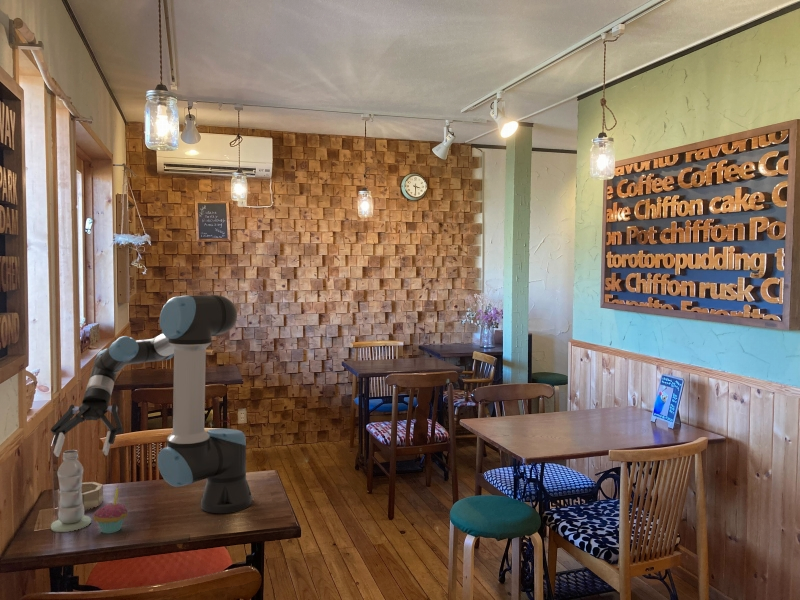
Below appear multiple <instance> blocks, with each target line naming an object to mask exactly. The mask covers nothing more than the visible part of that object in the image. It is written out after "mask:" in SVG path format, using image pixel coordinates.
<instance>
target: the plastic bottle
mask: <svg viewBox="0 0 800 600" xmlns="http://www.w3.org/2000/svg"><path fill="white" fill-rule="evenodd" d="M78 453H79V452H78V450H77V449H70V450H65V451H63V452H62V460H63V461H62V463H61V464H60V466H59V467H58V469H57V472H56V474H57V478H58V484H59V491H60V507H59V509H58V512H57V516H58V520H60V522H61V523H64V524H70V523H75V522H78V521H80V520H81V519H82V518H83V516H85V511H86V510H84V505H83V500H82V483H83V476H84V466H83V464H82V463H81V462H80V461H79V460H78V458H79V454H78Z"/></svg>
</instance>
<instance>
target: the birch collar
mask: <svg viewBox="0 0 800 600" xmlns="http://www.w3.org/2000/svg"><path fill="white" fill-rule="evenodd" d="M57 494H58V495H57V496H58V497H57V498H58V500H57V502H58V507H57V508H59V507H60V490H59V491H58V493H57ZM82 500H83V505H84V510H85V511H88V510H91V509H94V508H93V507H95V508H98V507H99V506H100V505H101V504H102V503H103V502H104V485H103V484H102V483H99V482H96V481H87V482H82ZM102 501H103V502H102ZM97 506H98V507H97ZM90 508H91V509H90ZM87 509H88V510H87Z"/></svg>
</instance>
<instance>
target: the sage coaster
mask: <svg viewBox="0 0 800 600" xmlns="http://www.w3.org/2000/svg"><path fill="white" fill-rule="evenodd" d="M90 523H91V524H92V517H90V516H88V515H84V516H83V518H82V519H81V520H80V521H78V522H75V523H70V524H64V523H61V522H60V520H59V519H57V520H56V519H55V520H54V521H53V522H52V523H51V524H50V529H51V531H53V532H54V533H70V532H69V531H71V532H75V531H74V530H76V531H79V530H82V529H84V527H85V528H87V527H88V526H90V525H91V524H90ZM89 524H90V525H89ZM86 526H87V527H86ZM81 528H82V529H81ZM78 529H79V530H78Z"/></svg>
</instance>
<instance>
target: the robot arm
mask: <svg viewBox="0 0 800 600" xmlns="http://www.w3.org/2000/svg"><path fill="white" fill-rule="evenodd" d="M237 319H238V310H237V308H236V306H235V304H234V303H233V302H232V300H230V299H229V298H227V297H225V296H222V295H219V294H210V295H207V294H206V295H188V294H187V295H181V296H174V297H171V298H169V299H168V300H167V301H166V303H165V304H164V305H163V307H162V308H161V311H160V314H159V328H160V330H161V333H160V334H159V335H157V336H155V337H154V338H149V339H139V340H138V339H137V340H136V339H134V338H133V337H130V336H127V335H122V336H119V337H118V338H117V339H116V340H115V341H113V342H111V344H110V346H109V347H107V348H105V349H102V350H99V351H98V352H97V355H96V357H95V358H94V362H93V366H92V369H91V372H90V375H89V379H88V382H87V386H86V388H85V392H84V395H83V398H82V402H81V404H80V406H75V405H74V404H71V405H69V407H68V409H67V411H66V412H65V413H64V414H63V415H62V416H61V418H59V420H58V421H57V422H55V424H54V425H52V427H51V428H50V432H51V433H52V435H54V436H55V437H54V440H53V444H54V445H55V446H54V450H53V452H52V453H53V454H54V456H55V457H60V455H61V452H62V448H63V446H64V442H65V439H66V436H65V435H66V434H67V433H68V432H70V431H71V430H72V429H73V428H75V427H76V426H78V425H79V424H80V423H83V422H85V421H98V420H99V419H100V420H101V421H102V422H103V424H104V426H106V428H107V429H108V431H107V432H106V436H105V439H104V444H103V447H102V453H103V454H104V456H108V455H109V451H110V447H111V445H114V443H115V440H116V437H117V435H118V434H124V428H123V426H122V422H121V420H120V417H119V414H118V413H119V408H118V406H117V404H116V403H112V405H110V401H111V397H112V392H113V391H114V390H113V389H114V385H115V382H116V379H117V375H118V374H119V372H121V371H122V370H123V368H125V367H126V366H128V365H134V364H142V363H143V364H144V363H151V362H160V361H161V362H163V361H167V360H170V359H172V358H173V393H172V395H173V399H172V400H173V402H172V404H173V405H172V406H173V407H172V432H171V433H170V434H169V435H168V436H167V437H166V446H165V447H163V448H162V449H160V451H159V453H158V454H157V467H158V470H159V473H160V475H161V476H162V478H163V480H164V481H165V482H166V483H167V484H169V485H170V486H172V487H175V488H180V487H184V486H190V485H192V484H194V483H197V482H199V481H203V480H206V483H205V486H204V490H203V494H202V496H201V499H200V508H201V510H202V511H203V512H206V513H211V514H231V513H235V512H239V511H243V510H245V509H247V508H249V507H250V506H251V505H252V503H253V495H252V492H251V489H250V485H249V483H248V480H247V442H246V440H247V439H246V434H245V432H243V431H242V430H240V429H236V428H235V429H233V428H211V429H208V430H207V431H206V430H205V413H206V412H205V406H206V403H205V402H206V361H207V360H206V357H207V356H206V354H207V353H206V351H207V350H206V349H207V348H208V347H209V346H210V345H211V344H212V338H215V337H219V336H221V335H223V334H226V333H228V332H229V331H231V330H232V329H233V328H234V326H235V325H236V323H237V321H238V320H237ZM108 412H110V413H111V414H112V416H113V419H114V421H115V424H116V427H114V425H113V424H112V423H111V421H110V420H109V419H108V418H107V417H106V414H107V413H108Z"/></svg>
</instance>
